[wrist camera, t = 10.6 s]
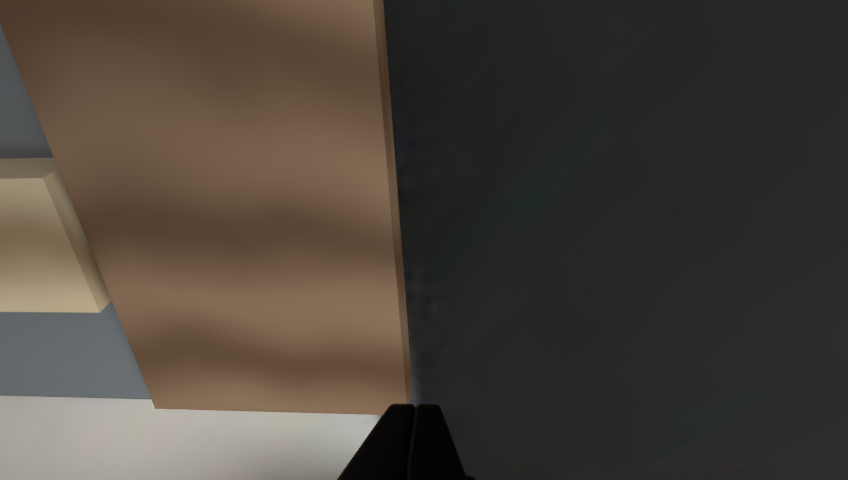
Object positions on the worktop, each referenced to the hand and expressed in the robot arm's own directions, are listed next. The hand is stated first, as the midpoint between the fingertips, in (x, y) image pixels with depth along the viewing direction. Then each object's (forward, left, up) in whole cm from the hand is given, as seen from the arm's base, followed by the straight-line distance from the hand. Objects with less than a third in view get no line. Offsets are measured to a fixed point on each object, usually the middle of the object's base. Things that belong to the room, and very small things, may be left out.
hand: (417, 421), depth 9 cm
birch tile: (-3, +18, -12) cm, 22 cm away
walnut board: (-3, +8, -13) cm, 16 cm away
